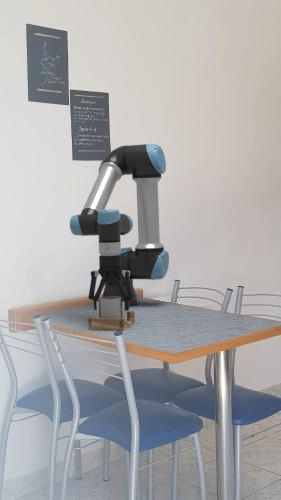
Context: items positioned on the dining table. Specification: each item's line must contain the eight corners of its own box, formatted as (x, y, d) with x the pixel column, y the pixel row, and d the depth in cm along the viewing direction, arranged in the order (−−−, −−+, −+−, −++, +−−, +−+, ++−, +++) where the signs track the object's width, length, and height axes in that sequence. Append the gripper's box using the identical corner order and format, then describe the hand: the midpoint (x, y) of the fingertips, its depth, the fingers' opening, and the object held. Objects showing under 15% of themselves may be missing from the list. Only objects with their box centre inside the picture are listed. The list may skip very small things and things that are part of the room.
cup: (106, 326, 218) (105, 300, 218) (95, 321, 227) (94, 296, 227) (125, 323, 221) (124, 297, 221) (114, 319, 230) (113, 294, 230)
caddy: (102, 321, 233) (102, 310, 232) (134, 321, 230) (134, 311, 229) (88, 329, 218) (88, 318, 218) (122, 330, 215) (122, 319, 215)
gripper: (76, 255, 221) (79, 321, 223) (137, 255, 216) (139, 322, 217) (84, 253, 228) (86, 316, 230) (142, 253, 223) (144, 318, 225)
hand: (112, 319), depth 224 cm, fingers open, 8 cm apart
